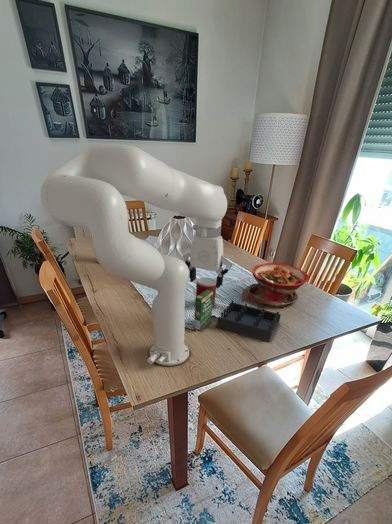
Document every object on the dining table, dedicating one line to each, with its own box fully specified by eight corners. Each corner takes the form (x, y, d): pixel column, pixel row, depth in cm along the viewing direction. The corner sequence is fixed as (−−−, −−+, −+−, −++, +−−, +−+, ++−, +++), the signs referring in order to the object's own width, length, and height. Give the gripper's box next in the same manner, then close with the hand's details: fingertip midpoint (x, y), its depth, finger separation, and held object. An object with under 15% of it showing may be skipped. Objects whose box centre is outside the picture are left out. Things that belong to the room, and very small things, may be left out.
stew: (267, 318, 114) (275, 280, 105) (230, 294, 130) (234, 259, 121) (313, 302, 127) (324, 267, 117) (274, 283, 143) (281, 250, 133)
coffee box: (200, 331, 105) (201, 299, 97) (193, 329, 106) (194, 296, 98) (211, 322, 110) (214, 291, 102) (205, 320, 111) (207, 288, 104)
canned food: (213, 311, 117) (215, 286, 111) (193, 308, 119) (194, 283, 112) (215, 302, 124) (217, 278, 117) (197, 300, 125) (198, 276, 118)
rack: (278, 323, 111) (281, 310, 108) (269, 341, 101) (272, 328, 98) (230, 311, 118) (231, 298, 115) (217, 326, 108) (218, 313, 104)
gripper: (177, 229, 88) (178, 282, 99) (230, 238, 82) (225, 293, 93) (189, 224, 94) (188, 274, 104) (239, 232, 88) (233, 285, 98)
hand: (205, 283), depth 98 cm, fingers open, 9 cm apart
